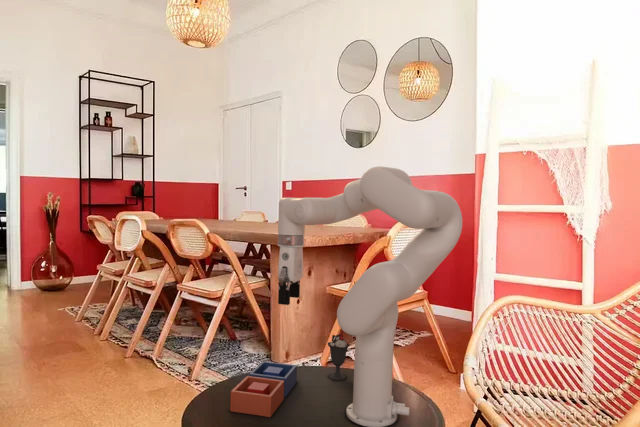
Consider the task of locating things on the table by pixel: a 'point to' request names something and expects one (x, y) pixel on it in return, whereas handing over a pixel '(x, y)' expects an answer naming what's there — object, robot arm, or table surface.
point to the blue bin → (288, 376)
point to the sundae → (338, 354)
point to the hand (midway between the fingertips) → (289, 300)
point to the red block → (258, 388)
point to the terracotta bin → (257, 397)
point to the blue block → (274, 371)
